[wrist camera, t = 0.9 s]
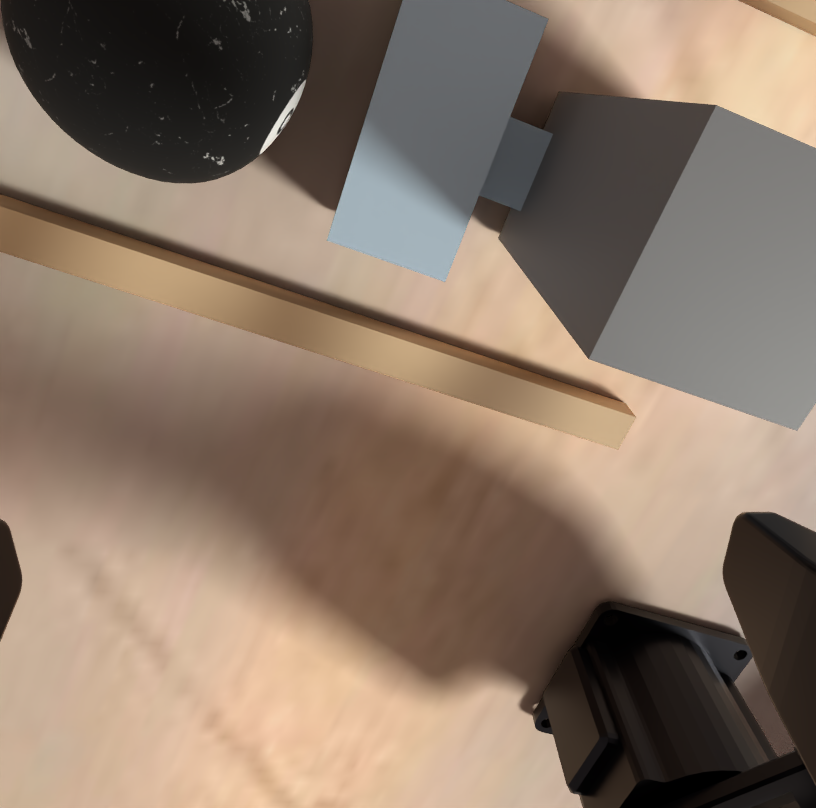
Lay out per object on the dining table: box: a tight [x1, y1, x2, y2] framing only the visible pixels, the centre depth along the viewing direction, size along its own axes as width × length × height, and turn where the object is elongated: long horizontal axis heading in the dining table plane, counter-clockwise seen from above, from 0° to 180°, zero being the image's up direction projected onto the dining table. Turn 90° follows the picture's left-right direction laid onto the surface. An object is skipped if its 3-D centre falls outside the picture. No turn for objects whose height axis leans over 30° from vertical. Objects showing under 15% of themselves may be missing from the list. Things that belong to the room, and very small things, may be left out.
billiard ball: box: [1, 0, 313, 183], centre depth 15 cm, size 6×6×6 cm
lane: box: [0, 0, 816, 450], centre depth 18 cm, size 20×13×1 cm, turn 70°
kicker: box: [327, 0, 816, 431], centre depth 15 cm, size 8×6×9 cm
